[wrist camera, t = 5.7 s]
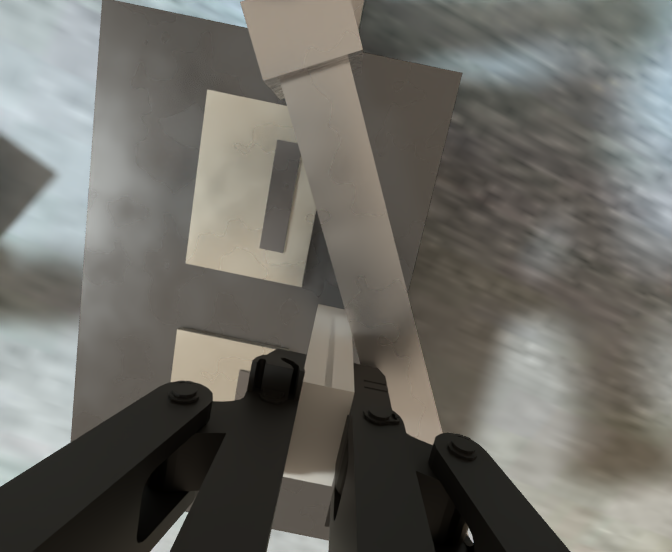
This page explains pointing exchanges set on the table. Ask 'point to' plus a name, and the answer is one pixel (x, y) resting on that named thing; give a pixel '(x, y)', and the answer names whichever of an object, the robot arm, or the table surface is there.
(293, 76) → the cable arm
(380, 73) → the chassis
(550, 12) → the table surface
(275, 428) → the robot arm
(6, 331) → the table surface
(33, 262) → the table surface
